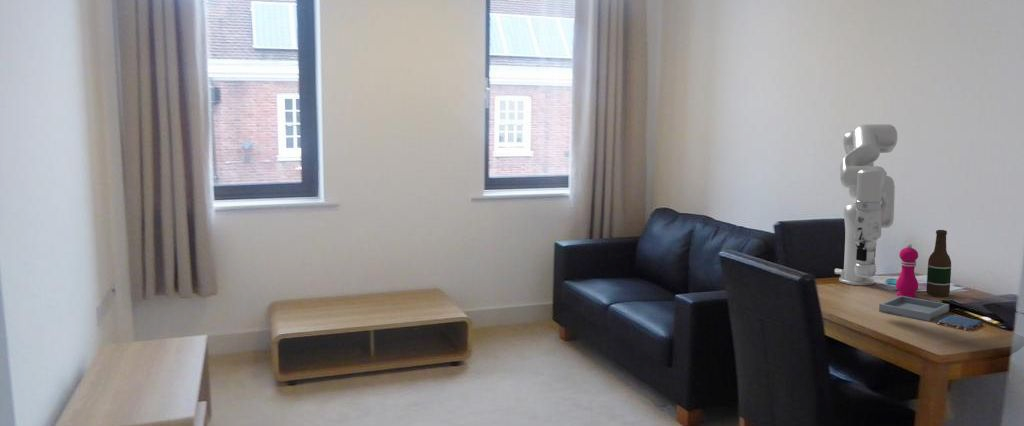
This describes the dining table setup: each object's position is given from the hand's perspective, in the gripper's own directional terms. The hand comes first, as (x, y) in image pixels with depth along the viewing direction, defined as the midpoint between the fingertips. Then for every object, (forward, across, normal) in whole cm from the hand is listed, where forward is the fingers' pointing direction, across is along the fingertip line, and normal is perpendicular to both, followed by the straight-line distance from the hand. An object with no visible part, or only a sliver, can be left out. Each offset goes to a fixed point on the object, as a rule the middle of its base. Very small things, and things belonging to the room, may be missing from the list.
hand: (865, 258), depth 247 cm
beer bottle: (+20, +40, -8) cm, 46 cm away
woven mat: (+19, +7, -27) cm, 34 cm away
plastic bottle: (+7, 0, 0) cm, 7 cm away
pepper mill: (+19, +28, -2) cm, 34 cm away
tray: (+19, +12, -11) cm, 25 cm away
